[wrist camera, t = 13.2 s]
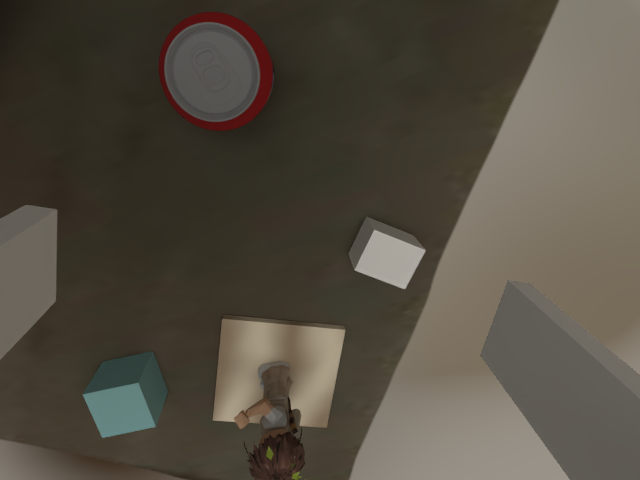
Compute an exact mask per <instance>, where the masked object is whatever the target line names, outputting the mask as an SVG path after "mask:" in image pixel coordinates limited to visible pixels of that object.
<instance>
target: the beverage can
mask: <svg viewBox="0 0 640 480" xmlns="http://www.w3.org/2000/svg"><path fill="white" fill-rule="evenodd" d="M159 75H160V81H161V85H162V88H163V90H164V93H165V95H166V97H167V99H168V100H169V102H170V104H171V105H172V106H173V108H174V109H175V110H176V111H177V112H178V113H179V114H180V115H181V116H182V117H183V118H185V119H186V120H187V121H189V122H191V123H192V124H194V125H196V126H199V127H201V128H204V129H208V130H215V131H226V130H231V129H235V128H238V127H241V126H243V125H245V124H247V123H248V122H250V121H251V120H252V119H253V118H255V117H256V116H257V115H258V114H259V112H260V111H261V110H262V109H263V107H264V106H265V104H266V102H267V101H268V99H269V97H270V94H271V91H272V88H273V83H274V68H273V63H272V60H271V57H270V54H269V52H268V50H267V48H266V46H265V45H264V43H263V41H262V40H261V39H260V37H259V36H258V35H257V34H256V32H255V31H254V30H253V29H252V28H251V27H249V26H248V25H247V24H246V23H244V22H243V21H241V20H239V19H238V18H236V17H233V16H231V15H228V14H224V13H219V12H204V13H199V14H195V15H192V16H190V17H188V18H186V19H184V20H183V21H181V22H180V23H179V24H178V25H176V26H175V27H174V28H173V30H172V31H171V32H170V33H169V35H168V36H167V38H166V40H165V42H164V44H163V47H162V49H161V53H160V58H159Z"/></svg>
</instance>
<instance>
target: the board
mask: <svg viewBox="0 0 640 480" xmlns="http://www.w3.org/2000/svg"><path fill="white" fill-rule="evenodd" d="M344 335H345V326H342V325H331V324H320V323H309V322H298V321H287V320H277V319H266V318H255V317H244V316H233V315H223V317H222V326H221V337H220V348H219V359H218V370H217V381H216V391H215V402H214V413H213V420H214V421H230V422H235V420H234V418H235V417H236V416H237V415H238V414H239V413H240V412H241V411H242V410H244V412H245V410H247V409H248V408H249V407H251V406H252V405H254V404H255V403H257V402H258V401H260V400H261V399H262V398H263V392H264V390H262V388H261V386H260V382H261V379H259V377H258V368H259V367H260V366H261V365H264V364H269V363H275V362H281V361H283V362H285V363H287V364H289V368H290V371H289V376H290V378H291V380H292V382H293V383H292V385H291V387H290V389H289V395H288V396H289V398H290V401H291V410H293V409H296V408H297V409H299V410H300V412H301V421H300V426H310V427H326V428H327V423H328V418H329V413H330V407H331V402H332V397H333V392H334V387H335V382H336V376H337V371H338V366H339V361H340V356H341V350H342V345H343V340H344ZM262 416H263V415H262V413H260V414H258V415H255V416H252V417H249V420H250V422H249V423H260V419H261V417H262Z"/></svg>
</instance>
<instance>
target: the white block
mask: <svg viewBox="0 0 640 480" xmlns="http://www.w3.org/2000/svg"><path fill="white" fill-rule="evenodd" d="M425 251H426V250H425V249H424V248H423V246H422V245H421V244H420V243H419V242H418V240H417V239H416V238H415V237H414V236H413V235H411V234H408V233H406V232H404V231H401V230H399V229H396V228H394V227H391V226H389V225H386V224H384V223H381V222H379V221H376V220H374V219H371V218H369V217H366V218H365V220H364V222H363V224H362V226H361V228H360V230H359V233H358V235H357V237H356V239H355V241H354V243H353V245H352V247H351V249H350V251H349V253H348V255H349V257H350V260H351V263H352V265H353V268H354V270H355V271H358V272H360V273H363V274H366V275H368V276H371V277H374V278H376V279H379V280H381V281H384V282H387V283H389V284H392V285H395V286H397V287H400V288H403V289H405V288H406V286H407V284H408V283H409V281H410V279H411V277H412V275H413V273H414V271H415V269H416V268H417V266H418V264H419V262H420V260H421V258H422V256H423V254H424V253H425Z"/></svg>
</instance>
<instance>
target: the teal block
mask: <svg viewBox="0 0 640 480" xmlns="http://www.w3.org/2000/svg"><path fill="white" fill-rule="evenodd" d="M167 394H168V391H167V388H166V385H165V383H164V380H163V377H162V375H161V372H160V369H159V367H158V364H157V361H156V358H155V356H154V353H153V351H152V352H147V353H142V354H137V355H133V356H128V357H123V358H118V359H113V360H109V361H104V362H102V364H101V365H100V367H99V369H98V370H97V372H96V374H95V375H94V377H93V378H92V380H91V382H90V383H89V385H88V386H87V388H86V390H85V391H84V393H83V396H84V399H85V401H86V403H87V405H88V407H89V410H90V412H91V414H92V416H93V418H94V421H95V423H96V425H97V427H98V429H99V432H100V434H101V436H102V438H104V437H109V436H114V435H119V434H123V433H128V432H133V431H138V430H143V429H147V428H152V427H156V425H157V422H158V419H159V416H160V413H161V411H162V408H163V405H164V402H165V399H166V396H167Z"/></svg>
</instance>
